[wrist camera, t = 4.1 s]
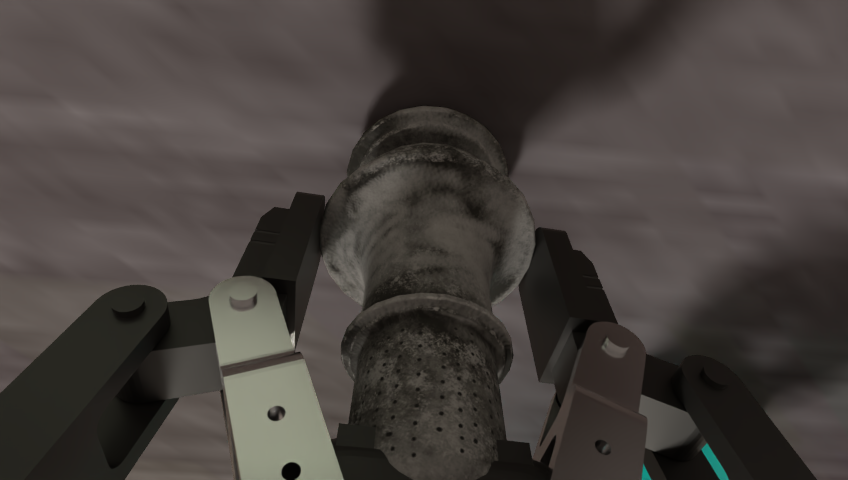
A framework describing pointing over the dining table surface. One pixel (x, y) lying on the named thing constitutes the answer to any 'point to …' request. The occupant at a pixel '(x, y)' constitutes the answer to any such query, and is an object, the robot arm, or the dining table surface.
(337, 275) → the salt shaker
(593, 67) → the dining table surface
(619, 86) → the dining table surface
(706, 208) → the dining table surface
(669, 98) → the dining table surface
